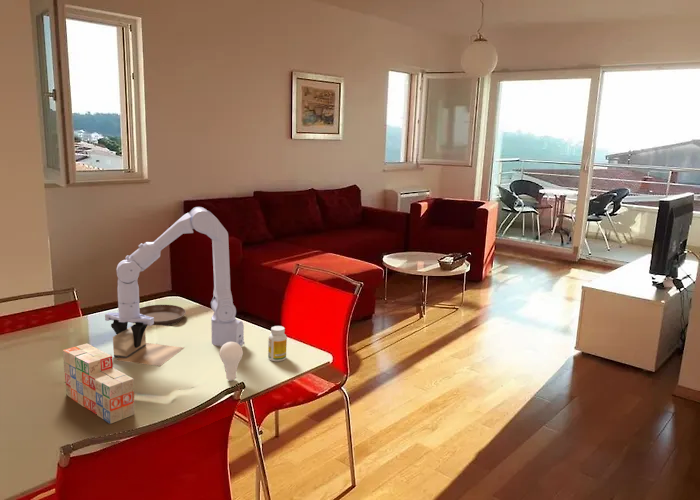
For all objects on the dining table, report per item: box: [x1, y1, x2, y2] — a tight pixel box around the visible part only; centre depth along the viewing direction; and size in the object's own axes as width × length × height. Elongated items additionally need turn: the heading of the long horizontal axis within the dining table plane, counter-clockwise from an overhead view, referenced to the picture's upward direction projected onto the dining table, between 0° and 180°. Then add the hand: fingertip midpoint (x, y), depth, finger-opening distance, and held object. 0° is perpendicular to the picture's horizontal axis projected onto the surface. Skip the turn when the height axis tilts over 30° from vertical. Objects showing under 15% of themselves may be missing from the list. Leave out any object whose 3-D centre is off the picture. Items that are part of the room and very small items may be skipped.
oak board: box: [115, 342, 185, 367], centre depth 164 cm, size 14×14×2 cm
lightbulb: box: [219, 342, 244, 382], centre depth 151 cm, size 6×6×11 cm
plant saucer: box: [140, 304, 187, 327], centre depth 196 cm, size 18×18×3 cm
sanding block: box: [112, 326, 147, 358], centre depth 164 cm, size 4×10×6 cm, turn 169°
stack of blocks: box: [62, 343, 135, 424], centre depth 135 cm, size 21×6×12 cm, turn 52°
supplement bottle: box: [267, 325, 288, 362], centre depth 167 cm, size 5×5×10 cm
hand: (130, 345), depth 164 cm, fingers closed on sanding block, 4 cm apart
